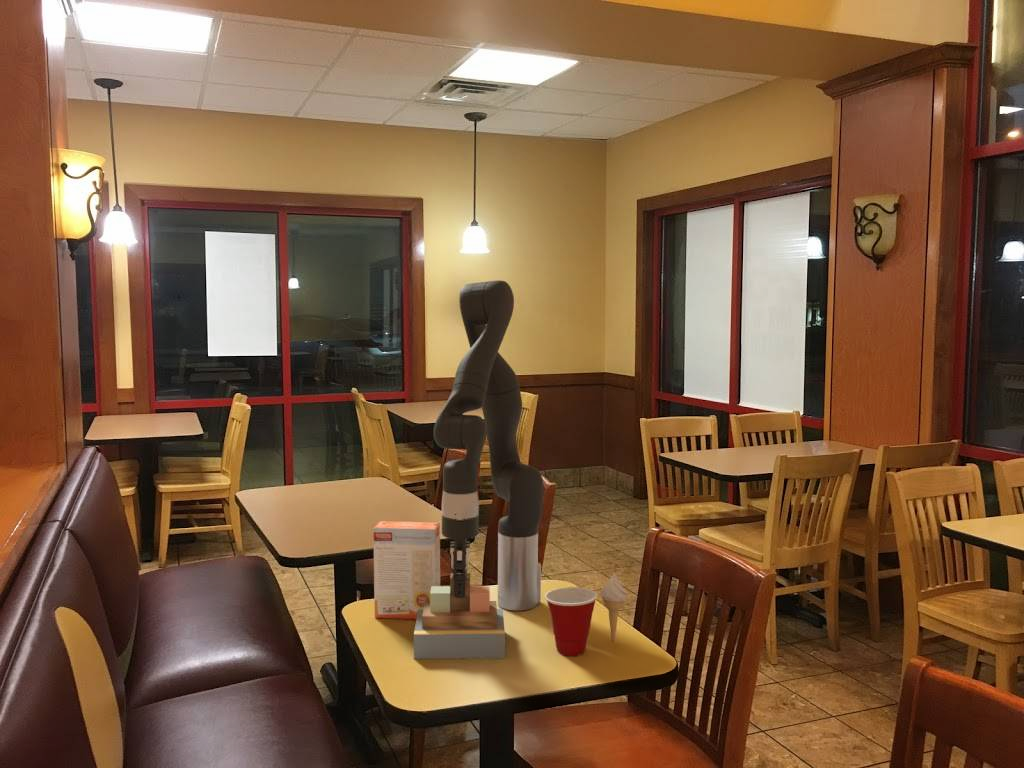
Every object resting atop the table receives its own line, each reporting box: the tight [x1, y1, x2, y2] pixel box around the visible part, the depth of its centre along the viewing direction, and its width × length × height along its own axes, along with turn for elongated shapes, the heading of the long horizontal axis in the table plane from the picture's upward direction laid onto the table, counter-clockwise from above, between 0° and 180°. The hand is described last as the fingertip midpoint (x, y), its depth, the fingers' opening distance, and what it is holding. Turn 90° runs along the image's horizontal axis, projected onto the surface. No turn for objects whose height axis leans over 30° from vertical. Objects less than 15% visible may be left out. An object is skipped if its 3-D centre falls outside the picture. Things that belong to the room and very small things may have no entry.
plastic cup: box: [544, 586, 599, 657], centre depth 170 cm, size 11×11×12 cm
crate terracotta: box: [470, 585, 491, 612], centre depth 171 cm, size 4×4×4 cm
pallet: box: [422, 572, 498, 629], centre depth 171 cm, size 15×8×10 cm, turn 92°
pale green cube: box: [430, 585, 450, 612], centre depth 171 cm, size 4×4×4 cm
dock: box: [413, 608, 506, 660], centre depth 172 cm, size 18×13×5 cm
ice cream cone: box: [600, 572, 628, 642], centre depth 174 cm, size 6×6×15 cm
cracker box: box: [373, 520, 441, 620], centre depth 186 cm, size 14×6×21 cm, turn 84°
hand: (460, 589), depth 171 cm, fingers open, 8 cm apart
